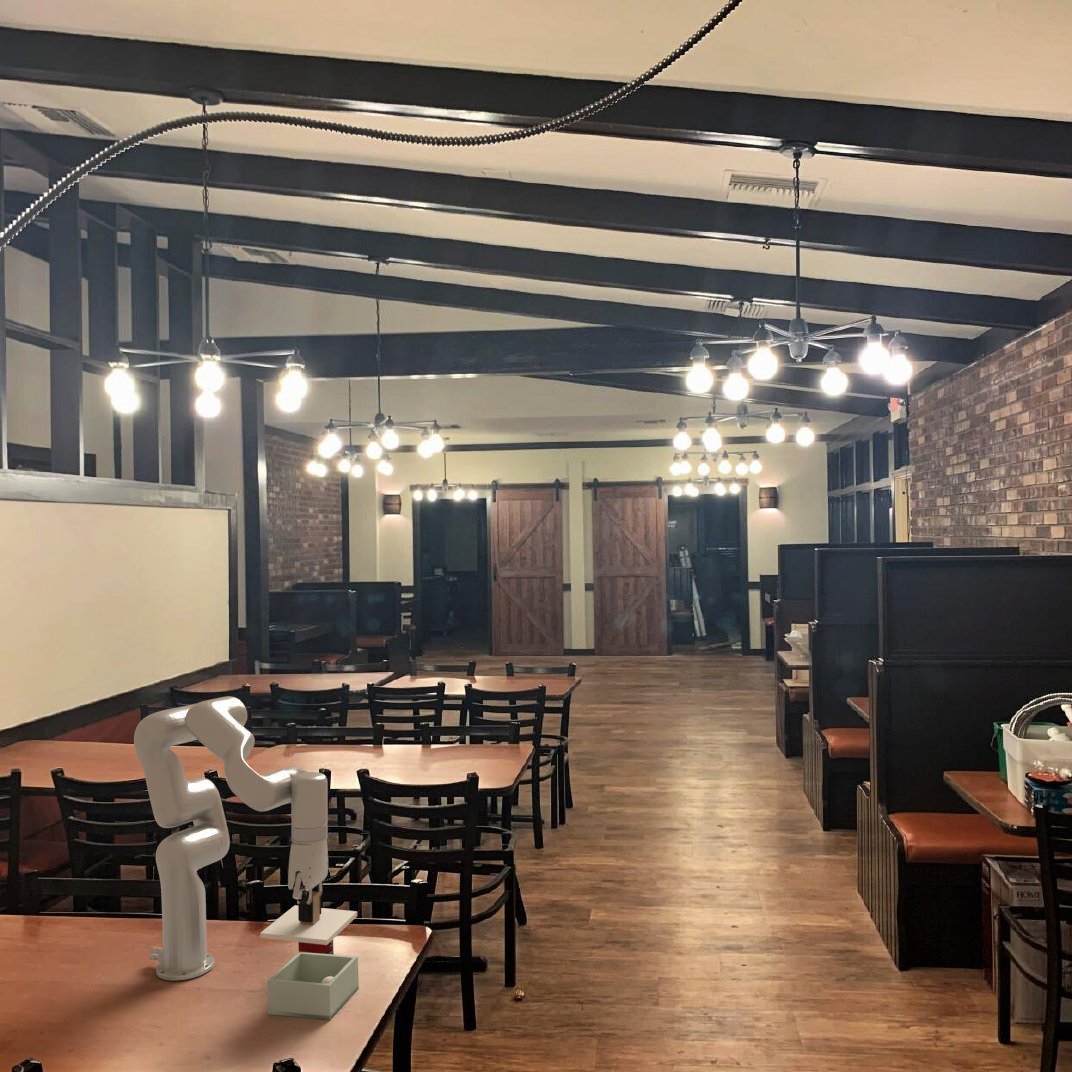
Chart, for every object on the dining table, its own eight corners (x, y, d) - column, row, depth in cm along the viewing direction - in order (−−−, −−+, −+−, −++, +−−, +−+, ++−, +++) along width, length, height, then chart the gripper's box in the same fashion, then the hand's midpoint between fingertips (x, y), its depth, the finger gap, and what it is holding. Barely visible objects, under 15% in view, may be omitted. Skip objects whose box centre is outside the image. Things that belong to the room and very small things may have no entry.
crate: (268, 1014, 199) (267, 980, 199) (300, 983, 213) (299, 951, 213) (330, 1020, 196) (329, 985, 196) (358, 988, 209) (357, 956, 209)
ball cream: (318, 997, 204) (317, 980, 204) (325, 989, 208) (325, 972, 208) (333, 998, 203) (333, 981, 203) (340, 990, 207) (340, 974, 207)
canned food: (325, 976, 216) (324, 927, 216) (293, 974, 218) (291, 925, 218) (339, 961, 223) (338, 914, 224) (307, 959, 225) (306, 912, 225)
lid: (260, 937, 199) (260, 904, 199) (294, 909, 214) (294, 878, 214) (326, 944, 196) (326, 910, 196) (357, 916, 210) (357, 884, 210)
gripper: (311, 819, 213) (311, 901, 214) (274, 843, 197) (275, 931, 198) (342, 821, 212) (342, 904, 212) (308, 845, 196) (308, 935, 196)
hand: (309, 917), depth 205 cm, fingers closed on lid, 3 cm apart
